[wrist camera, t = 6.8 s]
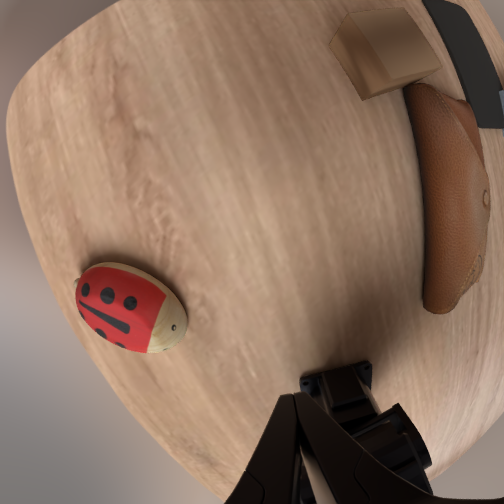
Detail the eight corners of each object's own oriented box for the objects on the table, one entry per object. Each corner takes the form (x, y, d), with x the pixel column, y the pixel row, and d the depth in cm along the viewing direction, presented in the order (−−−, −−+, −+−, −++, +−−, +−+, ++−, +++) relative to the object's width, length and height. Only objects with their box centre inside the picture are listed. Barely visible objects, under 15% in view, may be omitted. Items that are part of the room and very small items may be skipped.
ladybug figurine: (179, 356, 22) (169, 382, 18) (80, 313, 21) (58, 330, 17) (200, 288, 20) (190, 308, 17) (88, 243, 19) (63, 254, 16)
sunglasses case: (482, 284, 20) (498, 317, 14) (421, 286, 24) (422, 320, 18) (467, 96, 16) (485, 76, 10) (401, 99, 19) (399, 78, 14)
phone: (464, 7, 12) (514, 128, 15) (461, 9, 13) (509, 129, 16) (418, -8, 13) (477, 127, 16) (415, -4, 14) (472, 128, 17)
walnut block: (408, 86, 16) (443, 67, 11) (361, 100, 17) (392, 79, 12) (377, 35, 15) (403, 7, 10) (328, 46, 16) (347, 13, 11)
